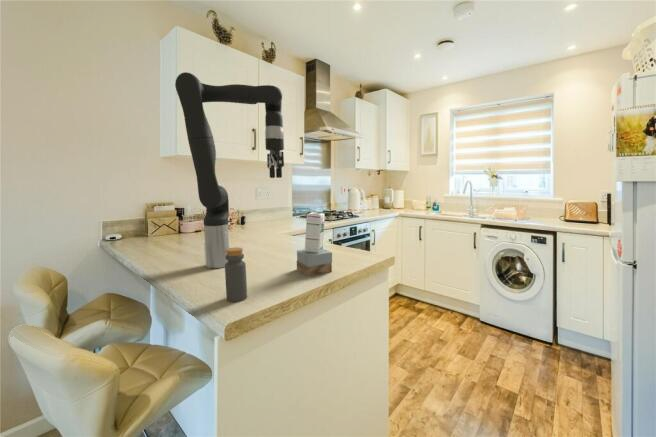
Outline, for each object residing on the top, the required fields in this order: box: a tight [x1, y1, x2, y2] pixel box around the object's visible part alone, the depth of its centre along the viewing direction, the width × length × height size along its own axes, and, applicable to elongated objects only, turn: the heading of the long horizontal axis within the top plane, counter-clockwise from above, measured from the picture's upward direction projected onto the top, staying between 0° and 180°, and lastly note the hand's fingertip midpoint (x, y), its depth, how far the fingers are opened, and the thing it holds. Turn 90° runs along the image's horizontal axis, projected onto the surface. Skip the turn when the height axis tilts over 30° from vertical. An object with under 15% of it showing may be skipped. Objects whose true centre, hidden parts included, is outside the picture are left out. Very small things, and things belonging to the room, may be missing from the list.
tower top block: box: [296, 248, 333, 267], centre depth 115 cm, size 10×10×4 cm
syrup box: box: [304, 211, 326, 253], centre depth 114 cm, size 6×6×14 cm
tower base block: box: [296, 260, 333, 277], centre depth 115 cm, size 10×10×4 cm
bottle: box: [224, 247, 248, 303], centre depth 88 cm, size 6×6×15 cm
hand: (275, 177), depth 126 cm, fingers open, 8 cm apart
